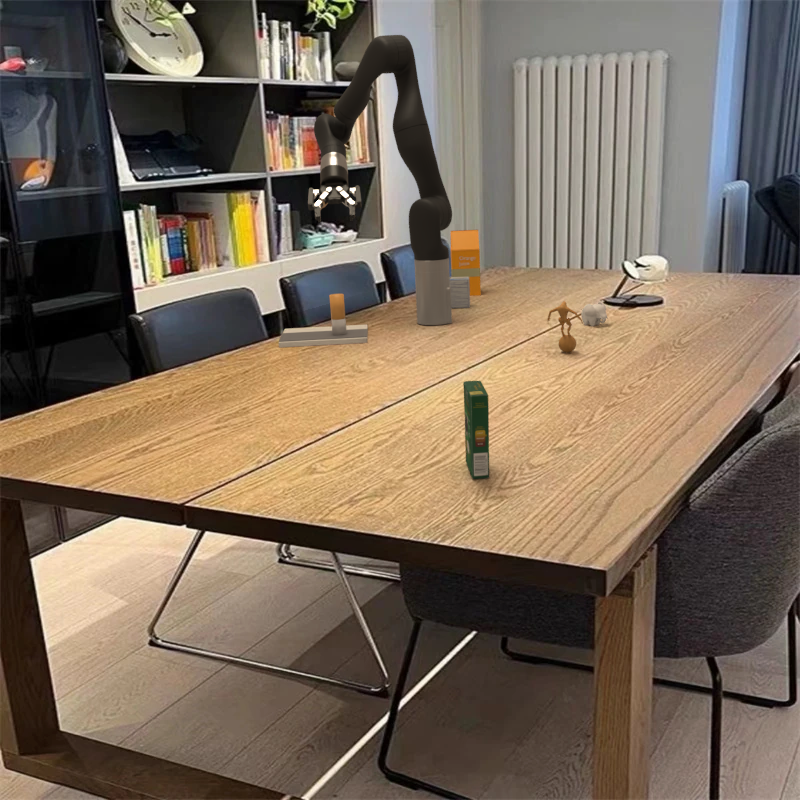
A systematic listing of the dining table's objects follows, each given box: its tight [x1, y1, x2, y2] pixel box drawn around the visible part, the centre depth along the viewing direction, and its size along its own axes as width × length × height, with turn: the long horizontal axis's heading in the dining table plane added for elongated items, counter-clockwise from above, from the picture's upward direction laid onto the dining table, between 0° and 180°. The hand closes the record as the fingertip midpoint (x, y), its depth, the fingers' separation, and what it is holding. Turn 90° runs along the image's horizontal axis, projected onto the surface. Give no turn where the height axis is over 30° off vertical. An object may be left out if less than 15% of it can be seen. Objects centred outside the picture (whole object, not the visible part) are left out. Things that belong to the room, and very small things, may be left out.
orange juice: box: [450, 229, 482, 297], centre depth 302 cm, size 8×9×20 cm
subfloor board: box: [278, 324, 369, 348], centre depth 248 cm, size 22×18×1 cm
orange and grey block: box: [329, 293, 347, 335], centre depth 243 cm, size 4×4×10 cm
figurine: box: [547, 301, 584, 353], centre depth 216 cm, size 8×6×12 cm
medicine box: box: [450, 276, 471, 309], centre depth 281 cm, size 8×4×9 cm, turn 84°
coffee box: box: [463, 380, 490, 480], centre depth 143 cm, size 8×3×13 cm, turn 3°
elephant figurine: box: [580, 300, 609, 327], centre depth 246 cm, size 7×8×6 cm
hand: (335, 219), depth 255 cm, fingers open, 8 cm apart
